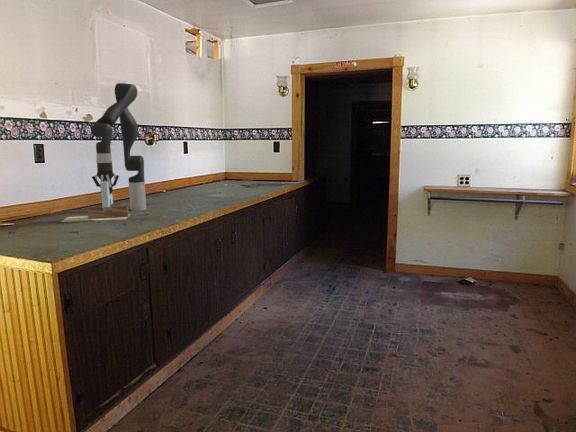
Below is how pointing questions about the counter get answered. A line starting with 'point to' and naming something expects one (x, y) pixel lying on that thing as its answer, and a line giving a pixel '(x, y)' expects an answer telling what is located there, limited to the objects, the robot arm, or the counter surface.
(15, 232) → the counter surface
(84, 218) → the birch board
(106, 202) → the slotted cross plate
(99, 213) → the walnut slotted plate
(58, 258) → the counter surface
